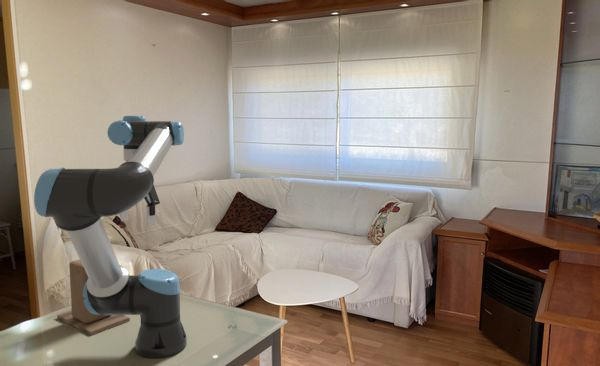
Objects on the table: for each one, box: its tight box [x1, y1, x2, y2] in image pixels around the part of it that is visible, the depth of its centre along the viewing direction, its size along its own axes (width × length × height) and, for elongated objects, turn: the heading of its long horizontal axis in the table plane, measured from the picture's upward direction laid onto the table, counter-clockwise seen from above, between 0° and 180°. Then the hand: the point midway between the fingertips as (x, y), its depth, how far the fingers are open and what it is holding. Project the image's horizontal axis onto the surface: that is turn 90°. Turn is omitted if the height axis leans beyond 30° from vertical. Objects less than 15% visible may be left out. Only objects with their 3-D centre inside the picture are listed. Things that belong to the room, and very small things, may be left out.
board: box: [56, 309, 131, 336], centre depth 160 cm, size 22×14×1 cm, turn 54°
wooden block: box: [68, 259, 110, 323], centre depth 159 cm, size 10×10×20 cm
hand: (137, 222), depth 159 cm, fingers open, 13 cm apart
